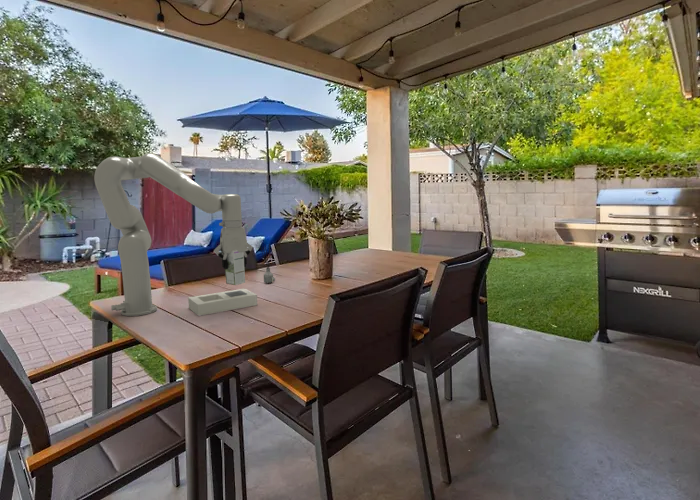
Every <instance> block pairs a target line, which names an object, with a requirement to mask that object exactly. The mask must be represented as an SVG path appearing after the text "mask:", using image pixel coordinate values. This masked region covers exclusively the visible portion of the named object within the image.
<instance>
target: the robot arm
mask: <svg viewBox="0 0 700 500" xmlns="http://www.w3.org/2000/svg"><path fill="white" fill-rule="evenodd" d="M93 178H94V185H95V188H96V189H97V190H96V191H97V193H98V196H99V198H100V200H101V203H102V205H103V208H104V210H105V212H106V215H107V217H108V220H109V223H110V224H111V226H112V227H113V228H115V229H116V230H120V231H121V234H122V236H121V237H120V239H119V241H118V245H117V248H118V249H117V250H118V251H117V252H118V255H119V259H120V267H121V274H122V285H123V295H124V296H123V298H124V300H123V301H122V302H121V303H119V304H112V305H111V306H110V307H111V311H120V314H121V315H122V316H125V317H136V316H137V317H138V316H145V315H149V314H153V313H154V312H156V311H157V310H158V306H157V305H155V304H153V298H152V297H153V296H152V295H153V294H152V287H151V286H152V284H151V283H152V282H151V274H150V264H149V257H148V251H149V249H150V248H151V245H152V242H153V241H152V237H151V234H150V231H149V229H148V226H147V223H146V222H145V220H144V217H143V214H142V213H141V211H140V210H139V208H137V207H136V206H135V205H133V204H131V203H130V201H129V199H128V196H127V193H126V191H125V189H124V187H123V185H122V181H129V180H131V181H132V180H136V179H137V180H138V179H146V178H151V179H152V180H154V181H155V182H157V183H159V184H160V185H162V186H164V187H165V188H167V189H168V190H169V191H171V192H172V193H174V194H175V195H176V196H179V197H181V198H182V199H183V200H184V201H186V202H188V203H190V204H191V205H193V206H195V207H196V208H197V209H199V210H200V211H203V212H204V213H206V214H215V213H217V212H221V215H222V216H221V217H222V221H221V222H219V223H218V225H219V227H222V228H221V229H220V239H219V241H220V242H219V244H218V246H216V247H215V249H213V253H215V254H216V256H218V257H219V258H220V259H221V266H222V268H223V269H224V270H225V269H228V263H227V260H226V257H227V255H228V253H232V252H231V251H233V250H237V251H238V252H243V253H244V268H245V267H247V263H248V262H247V258H248V255H250V254H251V251H252V250H253V248H254V246H252V245H251V244H250V243H249V242H248V239H247V234H246V228H245V227H243V220H242V219H243V218H242V215H243V214H242V200H241V195H239V194H237V193H227V194H226V193H225V194H216V193H212V192H210V191H209V190H207V189H206V188H204V187H203V186H201V185H200V184H198V183H197V182H196V181H194V180H192V178H191V177H190V176H189V175H188V174H187V173H185V172H183V170H181V169H179V168H177V167H175V165H173V164H171V163H170V162H168V161H166V160H165V159H164V158H163V157H161V156H160V155H158V154H155V153H152V152H148V153H144V154H143V155H142V156H133V157H121V156H109V157H107V158H105V159H104V160H102V161H101V162H100V163H99V164H98V165H97V166H96V169H95V171H94V177H93Z"/></svg>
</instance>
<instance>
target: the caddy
mask: <svg viewBox="0 0 700 500" xmlns="http://www.w3.org/2000/svg"><path fill="white" fill-rule="evenodd" d="M187 299H188V300H187V301H188V309H189V310H190V311H192V312H193V313H194V314H195V315H196V316H198V317H200V316H205V315H206V316H207V315H211V314H217V313H222V312H223V313H224V312H227V311H233V310H239V309H244V308H249V307H250V308H251V307H255V306H258V294H257V293H255V292H253V291H250V290H249V289H247V288H239V289H234V290H226V291H221V292H214V293H208V294H202V295H195V296H189V297H187Z"/></svg>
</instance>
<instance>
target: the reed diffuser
mask: <svg viewBox="0 0 700 500" xmlns="http://www.w3.org/2000/svg"><path fill="white" fill-rule="evenodd" d="M268 244H269V247H268V251H267V250H265V249H267V247H266V246H267V245H266V244H264V246H261V245H259V249H260V251H261V253H262V256H263V257H262V258H263V260H264V262H265V265H266V268H265V270H266V271H265V273H263V282H264V283H273V282H274V281H276V277H275V276H274V274H273V273H272V272H271V268H270V263H268V262H269V260H271V259H270V253H271V252H270V251H271V250H270V249H271V244H270V243H268ZM262 248H263V249H262ZM263 250H265V251H263ZM263 253H264V254H263ZM266 255H268V256H266Z"/></svg>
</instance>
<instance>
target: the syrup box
mask: <svg viewBox="0 0 700 500" xmlns="http://www.w3.org/2000/svg"><path fill="white" fill-rule="evenodd" d="M231 252H232V253H228V255H227V257H226V260H227V263H228V269H224V271H225V284H227V285H231V286H232V285H233V286H238V285H241V284H245V283H246V276H245V275H246V274H245V267H244V253H243V252H238V251H237V250H233V251H231Z"/></svg>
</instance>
